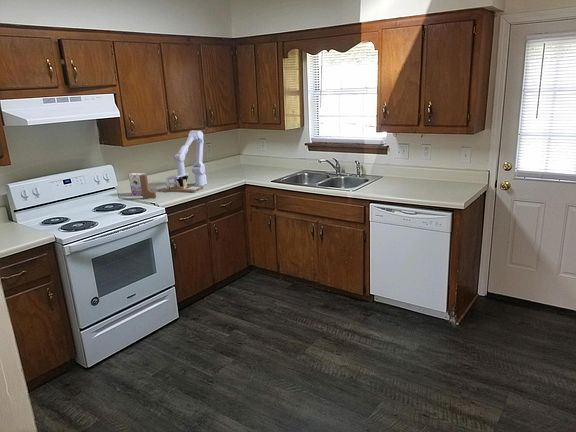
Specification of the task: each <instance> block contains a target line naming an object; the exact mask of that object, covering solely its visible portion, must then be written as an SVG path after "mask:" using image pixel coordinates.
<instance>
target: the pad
mask: <svg viewBox="0 0 576 432" xmlns="http://www.w3.org/2000/svg"><path fill="white" fill-rule="evenodd" d="M198 188H200V187H190V188H188V189H186V190H196V189H198Z"/></svg>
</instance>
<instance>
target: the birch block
mask: <svg viewBox="0 0 576 432" xmlns="http://www.w3.org/2000/svg"><path fill="white" fill-rule="evenodd" d="M187 186H188V183H187V182H186V180H183V187H180V189H186V188H187Z"/></svg>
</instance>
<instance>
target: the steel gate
mask: <svg viewBox="0 0 576 432" xmlns="http://www.w3.org/2000/svg"><path fill="white" fill-rule="evenodd" d="M177 175H178V174H174V175H171V176H168V177H165V184H166V185H165V186H166V189H170V187H171V185H170V181H172V180H174V181H173V182H174V186H179V183H178V181H177V180H176V178H175V177H176V176H177Z"/></svg>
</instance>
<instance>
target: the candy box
mask: <svg viewBox="0 0 576 432" xmlns="http://www.w3.org/2000/svg"><path fill="white" fill-rule="evenodd" d="M142 174H144V173H142V172H141V173H140V172H139V173H138V172H132V173H128V179H129V185H130V190H131V195H132V194H133V195H134V196H135V195H136V196H143V195H142V189H141V183H140V177H139V176H140V175H142Z"/></svg>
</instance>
